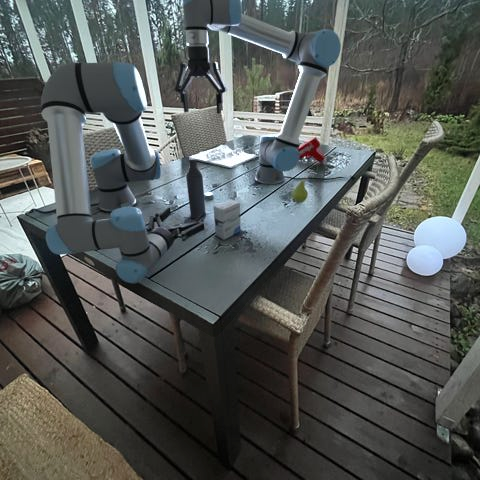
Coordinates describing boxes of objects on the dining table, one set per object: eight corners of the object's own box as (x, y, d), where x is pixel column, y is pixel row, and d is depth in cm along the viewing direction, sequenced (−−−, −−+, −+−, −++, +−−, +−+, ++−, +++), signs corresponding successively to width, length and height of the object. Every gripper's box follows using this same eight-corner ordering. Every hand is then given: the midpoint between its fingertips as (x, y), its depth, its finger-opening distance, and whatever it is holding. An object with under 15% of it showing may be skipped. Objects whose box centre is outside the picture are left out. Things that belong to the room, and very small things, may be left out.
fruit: (288, 200, 123) (290, 174, 116) (302, 197, 125) (305, 172, 119) (296, 206, 118) (299, 179, 111) (310, 203, 120) (314, 177, 114)
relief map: (230, 168, 162) (230, 159, 159) (189, 158, 180) (188, 150, 177) (256, 157, 180) (256, 149, 177) (216, 149, 198) (215, 142, 195)
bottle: (207, 212, 113) (202, 156, 101) (203, 219, 108) (198, 161, 96) (193, 212, 114) (186, 156, 101) (189, 218, 109) (181, 161, 96)
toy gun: (328, 157, 168) (316, 136, 164) (328, 158, 165) (315, 137, 161) (303, 172, 178) (290, 152, 174) (302, 174, 175) (289, 154, 171)
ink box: (232, 226, 103) (231, 197, 97) (241, 231, 100) (241, 202, 94) (214, 235, 98) (212, 205, 92) (223, 240, 95) (222, 209, 89)
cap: (203, 199, 125) (203, 195, 124) (206, 195, 128) (205, 191, 127) (211, 200, 124) (211, 195, 123) (214, 196, 127) (213, 192, 126)
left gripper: (124, 247, 87) (157, 217, 105) (196, 259, 82) (218, 225, 99) (118, 227, 83) (154, 199, 101) (193, 238, 78) (217, 207, 95)
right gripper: (160, 46, 95) (169, 112, 106) (228, 44, 89) (230, 114, 101) (169, 47, 101) (177, 110, 112) (234, 46, 95) (235, 112, 107)
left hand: (186, 212), depth 100 cm, fingers open, 13 cm apart
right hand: (202, 112), depth 106 cm, fingers open, 13 cm apart
